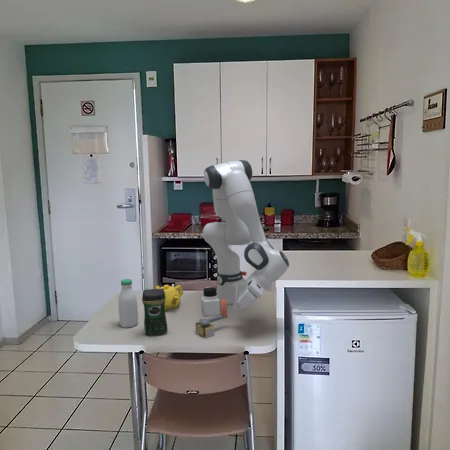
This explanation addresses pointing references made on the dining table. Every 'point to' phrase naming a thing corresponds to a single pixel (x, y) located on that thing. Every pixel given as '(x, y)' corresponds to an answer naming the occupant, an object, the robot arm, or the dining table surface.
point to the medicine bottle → (210, 302)
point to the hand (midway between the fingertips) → (233, 305)
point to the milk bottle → (127, 305)
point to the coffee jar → (154, 312)
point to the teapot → (171, 296)
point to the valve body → (204, 330)
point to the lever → (216, 318)
